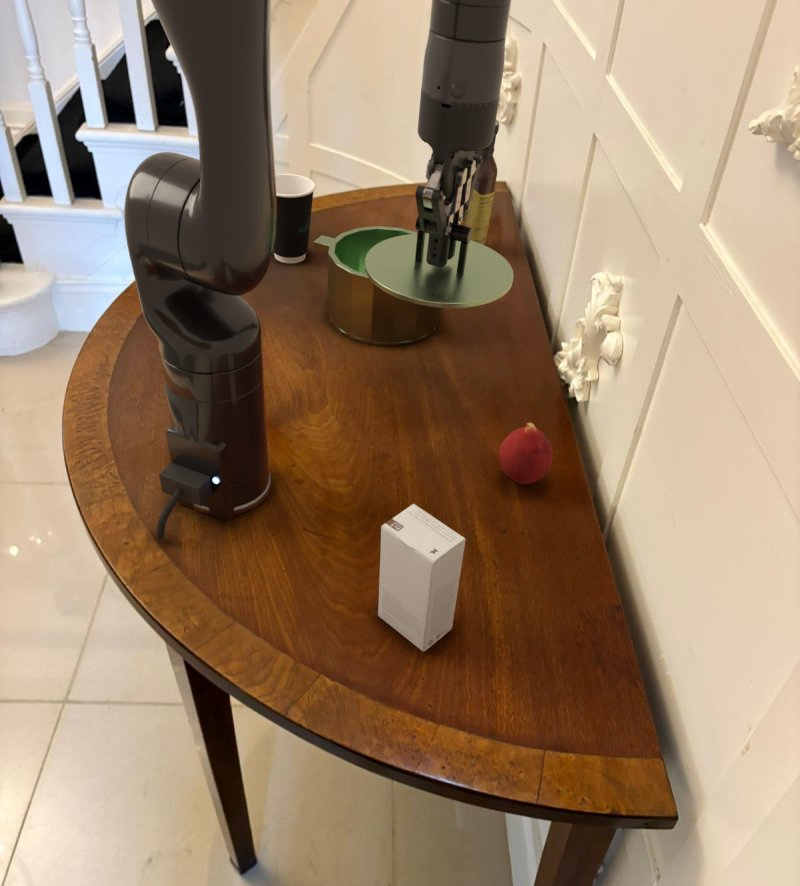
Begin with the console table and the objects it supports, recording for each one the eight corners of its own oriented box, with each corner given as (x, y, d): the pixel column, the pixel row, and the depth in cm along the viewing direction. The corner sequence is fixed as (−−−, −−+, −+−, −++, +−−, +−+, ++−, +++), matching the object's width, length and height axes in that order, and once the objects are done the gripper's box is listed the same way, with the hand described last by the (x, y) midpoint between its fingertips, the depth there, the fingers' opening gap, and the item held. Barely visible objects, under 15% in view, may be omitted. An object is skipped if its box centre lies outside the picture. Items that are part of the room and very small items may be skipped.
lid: (483, 329, 81) (493, 272, 76) (338, 287, 84) (340, 230, 80) (529, 265, 92) (540, 212, 87) (400, 231, 96) (404, 178, 91)
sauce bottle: (441, 242, 129) (456, 111, 115) (476, 239, 131) (495, 110, 117) (454, 260, 125) (472, 127, 111) (490, 258, 127) (512, 126, 113)
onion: (544, 468, 90) (559, 411, 84) (546, 501, 86) (562, 444, 80) (494, 462, 90) (505, 404, 85) (493, 495, 86) (505, 437, 80)
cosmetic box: (453, 628, 73) (472, 537, 64) (421, 656, 70) (436, 564, 62) (405, 591, 75) (416, 499, 67) (372, 617, 73) (379, 524, 64)
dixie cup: (261, 245, 124) (257, 173, 116) (311, 243, 125) (310, 172, 118) (267, 269, 118) (264, 195, 111) (319, 267, 120) (319, 194, 112)
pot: (431, 363, 104) (439, 297, 97) (291, 321, 108) (289, 255, 102) (471, 311, 114) (481, 248, 107) (341, 274, 119) (343, 212, 112)
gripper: (449, 64, 80) (431, 230, 92) (396, 97, 71) (383, 277, 83) (519, 78, 78) (491, 246, 91) (473, 114, 69) (449, 295, 81)
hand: (440, 260), depth 87 cm, fingers closed on lid
